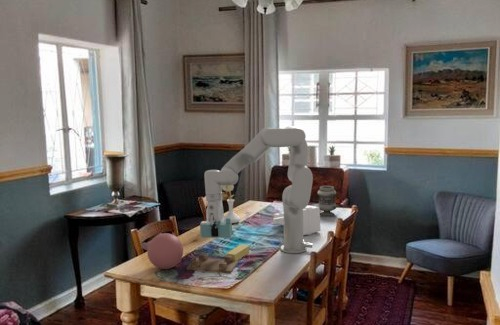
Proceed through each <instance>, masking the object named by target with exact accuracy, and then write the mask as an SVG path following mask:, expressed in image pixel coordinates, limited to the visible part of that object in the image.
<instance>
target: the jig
mask: <svg viewBox="0 0 500 325" xmlns="http://www.w3.org/2000/svg"><path fill="white" fill-rule="evenodd" d="M207 257H208V254H207V253H200V254H199V255H198V258H197V257H195V256H193V257H192V258H191V259H190V264H188V265H187V266H186V271H198V272H210V273H224V274H225V273H226V274H231V272H233V271H234V270H235V268H236V267H237V265H238V264H239V260H238V261H232V256H226V255H224V258H223V259H213V258H207ZM233 269H234V270H233Z"/></svg>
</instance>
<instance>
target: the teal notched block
mask: <svg viewBox="0 0 500 325" xmlns="http://www.w3.org/2000/svg"><path fill="white" fill-rule="evenodd" d="M214 224H215V223H214ZM232 224H233V223H232V222H231V220H230V218H226V222H217V228H218V237H212V236H211V226H210V222H208V221H207V220H202V221H201V222H200V224H199V225H200V227H199V228H200V238H201V239H202V238H203V239H205V238H208V239H209V238H211V239H212V238H214V239H215V238H221V239H222V238H223V239H224V238H230V239H231V237H232V236H233V225H232Z"/></svg>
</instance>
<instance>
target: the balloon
mask: <svg viewBox="0 0 500 325" xmlns="http://www.w3.org/2000/svg"><path fill="white" fill-rule="evenodd" d="M140 245H141V248H142V249H144V250H145V251H147V253H146V254H147V257H148V258H147V259H148V260H149V262H150V263H151V264H152V265H153V266H154V267H155V268H158V269H159V270H160V269H162V270H169V269H172V268H174V267H175V266H177V265H178V264H179V263H180V262H181V260H182V258H183V256H184V255H183V254H184V246H183V244H182V242H181V240H180V238H178V237H177V235H175V234H173V233H168V232H167V233H166V232H164V233H159V234H157V235H155V236H154V237H153V238H152V239H151V240H149V241H147V242H142V243H141V244H140Z"/></svg>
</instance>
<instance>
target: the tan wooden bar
mask: <svg viewBox="0 0 500 325" xmlns="http://www.w3.org/2000/svg"><path fill="white" fill-rule="evenodd" d="M248 253H249V254H250V245H248V244H247V245H246V244H239V245H238V246H236V247H235V248H232V249H230V251H228V252H227V253H225V254H226V255H225V256H232V261H238V262H239V261H240V260H241V259H243V258H244V257H246V256H247V255H249V254H248ZM246 254H247V255H246ZM245 255H246V256H245ZM243 256H244V257H243ZM242 257H243V258H242ZM240 258H241V259H240ZM239 259H240V260H239Z"/></svg>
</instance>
